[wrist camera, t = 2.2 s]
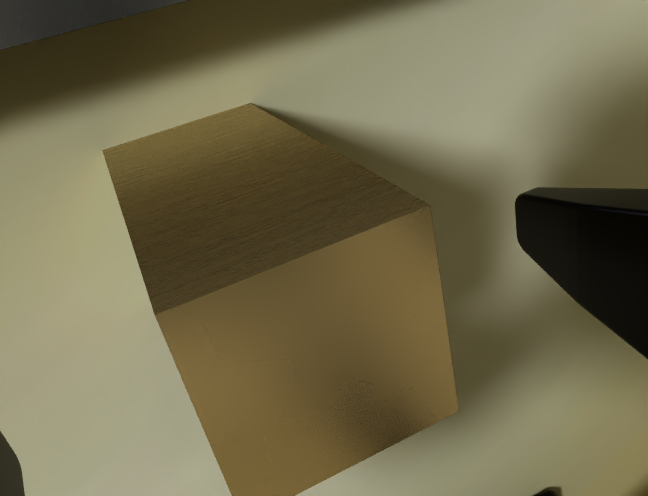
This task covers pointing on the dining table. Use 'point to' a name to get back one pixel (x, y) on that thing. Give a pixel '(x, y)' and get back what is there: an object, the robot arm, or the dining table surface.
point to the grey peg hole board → (63, 16)
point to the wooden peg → (287, 295)
